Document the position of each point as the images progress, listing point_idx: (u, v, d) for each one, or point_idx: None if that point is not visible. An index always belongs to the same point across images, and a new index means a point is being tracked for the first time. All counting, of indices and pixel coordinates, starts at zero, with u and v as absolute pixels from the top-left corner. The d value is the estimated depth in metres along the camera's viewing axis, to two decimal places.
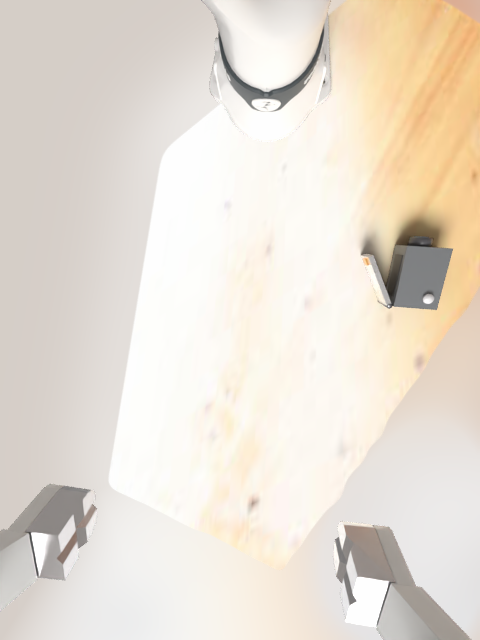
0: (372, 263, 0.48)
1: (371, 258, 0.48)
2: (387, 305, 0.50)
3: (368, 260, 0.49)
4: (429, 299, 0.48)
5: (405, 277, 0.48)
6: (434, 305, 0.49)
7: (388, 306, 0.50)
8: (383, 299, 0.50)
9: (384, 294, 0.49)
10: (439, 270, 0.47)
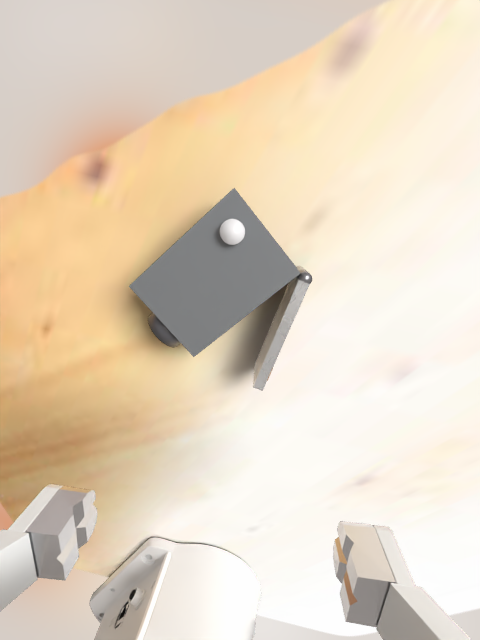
0: (265, 376, 0.23)
1: (259, 385, 0.23)
2: (308, 282, 0.20)
3: None
4: (231, 230, 0.19)
5: (237, 308, 0.21)
6: (230, 203, 0.19)
7: (308, 279, 0.20)
8: None
9: (294, 308, 0.21)
10: (173, 266, 0.20)
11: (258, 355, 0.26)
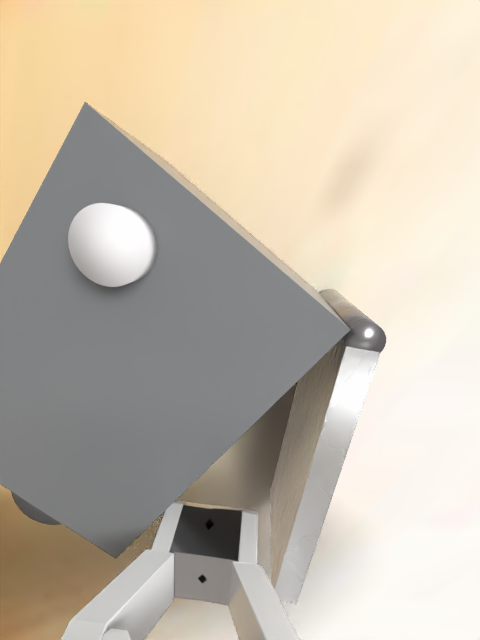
0: (298, 576, 0.09)
1: (287, 594, 0.09)
2: (375, 350, 0.07)
3: None
4: (104, 241, 0.06)
5: (188, 446, 0.08)
6: (89, 158, 0.06)
7: (375, 341, 0.07)
8: None
9: (345, 422, 0.07)
10: None
11: (274, 476, 0.13)
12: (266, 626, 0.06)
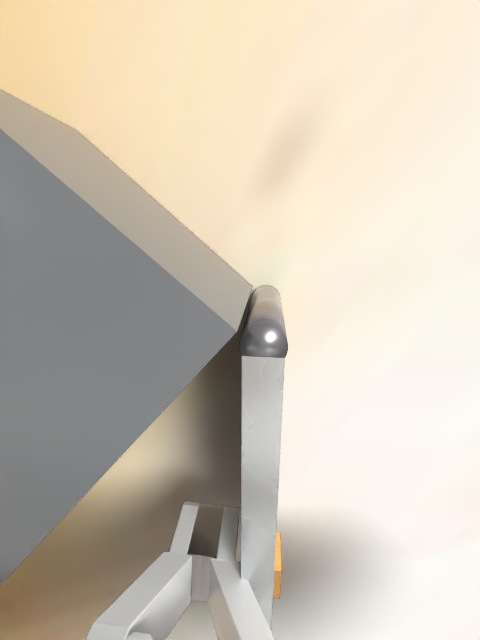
0: None
1: None
2: (278, 355, 0.05)
3: None
4: None
5: (60, 466, 0.06)
6: None
7: (274, 345, 0.05)
8: None
9: (266, 447, 0.06)
10: None
11: None
12: (239, 622, 0.06)
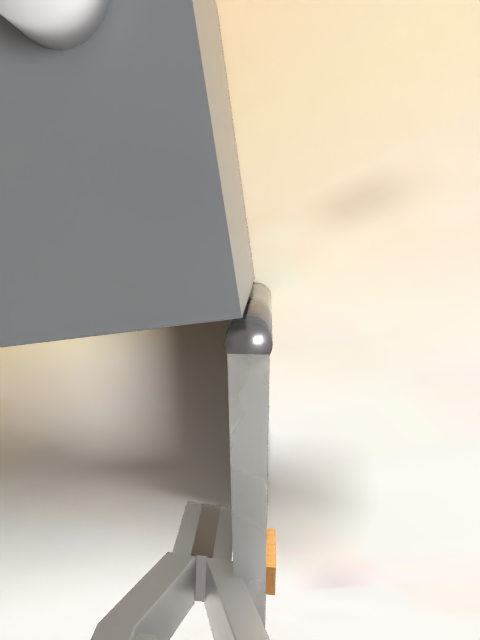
0: None
1: None
2: (263, 352, 0.06)
3: None
4: None
5: None
6: None
7: (258, 342, 0.05)
8: None
9: (254, 444, 0.06)
10: None
11: None
12: (234, 621, 0.06)
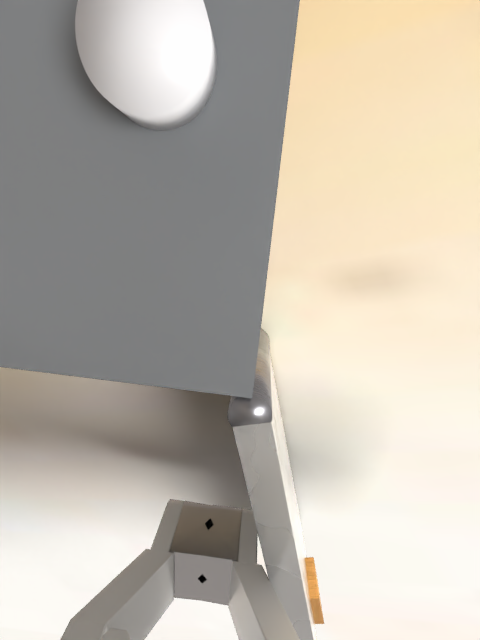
0: None
1: None
2: (265, 420, 0.06)
3: None
4: (144, 25, 0.03)
5: None
6: None
7: (259, 412, 0.06)
8: (277, 445, 0.07)
9: (273, 500, 0.06)
10: None
11: None
12: (266, 626, 0.06)
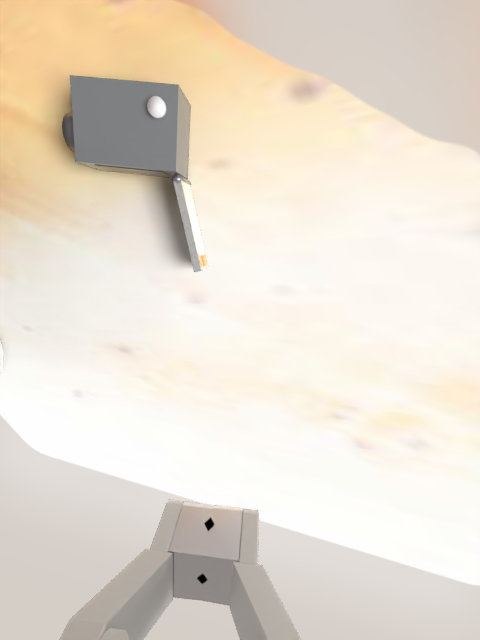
0: (196, 259, 0.31)
1: (197, 267, 0.31)
2: (179, 180, 0.29)
3: (201, 264, 0.32)
4: (156, 105, 0.26)
5: (125, 157, 0.28)
6: (169, 91, 0.26)
7: (178, 177, 0.29)
8: (184, 192, 0.29)
9: (183, 202, 0.29)
10: (108, 93, 0.27)
11: None
12: (267, 626, 0.06)
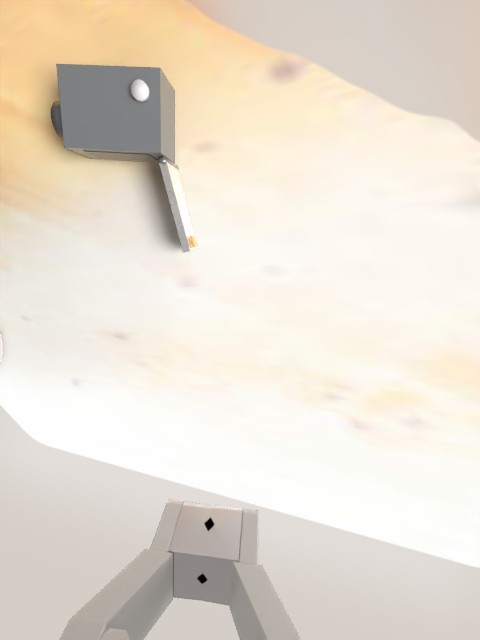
0: (185, 239, 0.31)
1: (186, 248, 0.32)
2: (165, 161, 0.29)
3: (190, 244, 0.32)
4: (139, 88, 0.27)
5: (111, 141, 0.29)
6: (151, 74, 0.27)
7: (163, 159, 0.29)
8: (171, 173, 0.30)
9: (169, 183, 0.30)
10: (93, 79, 0.28)
11: None
12: (267, 626, 0.06)
